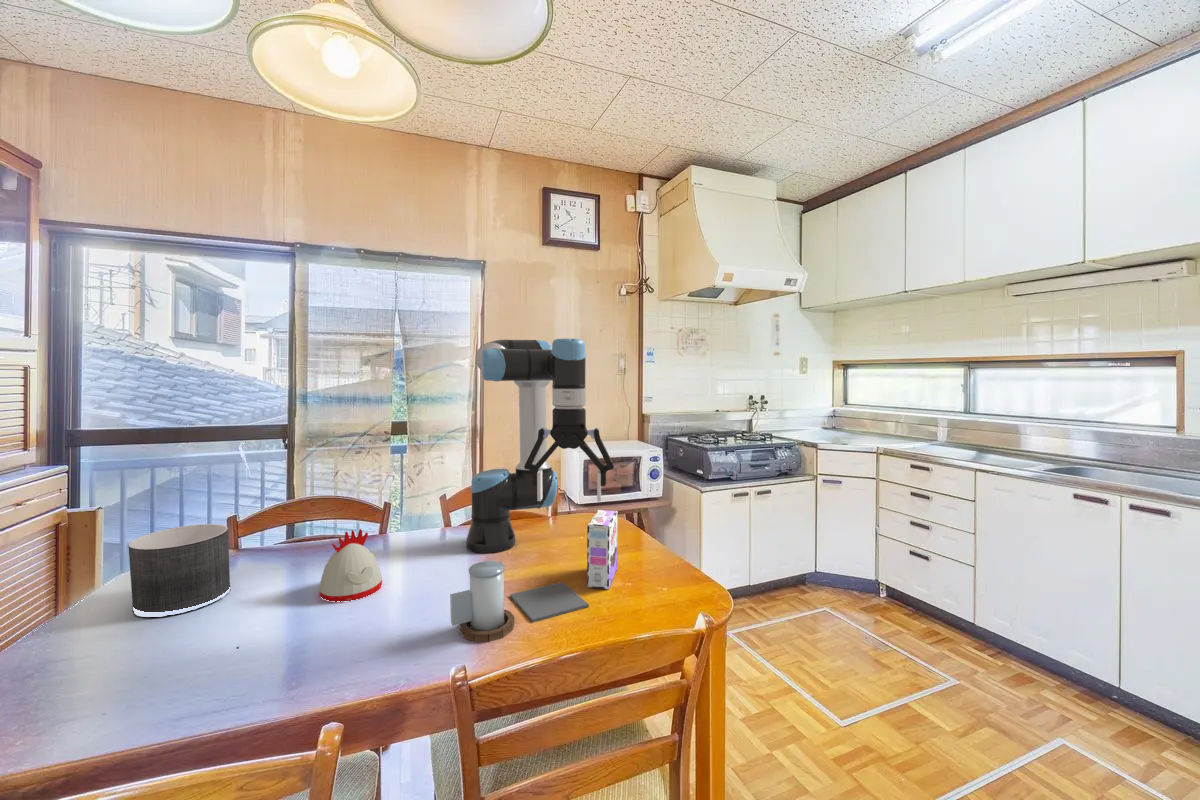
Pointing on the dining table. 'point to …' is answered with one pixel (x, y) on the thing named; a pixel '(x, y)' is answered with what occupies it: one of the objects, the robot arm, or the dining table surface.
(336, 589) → the white chicken figure
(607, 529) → the candy box
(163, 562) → the planter
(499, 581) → the white cylindrical canister
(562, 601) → the mat
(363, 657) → the dining table surface
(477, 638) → the brown segmented ring
